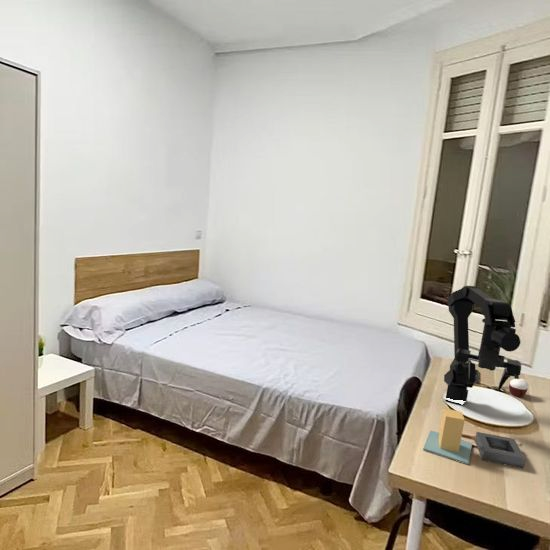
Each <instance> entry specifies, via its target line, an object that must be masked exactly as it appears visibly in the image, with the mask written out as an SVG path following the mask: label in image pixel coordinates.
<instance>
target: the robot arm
mask: <svg viewBox="0 0 550 550" xmlns="http://www.w3.org/2000/svg"><path fill="white" fill-rule="evenodd" d="M446 303H447V306H448V312H449V313H450V315H451V317H452V319H453V340H454V341H453V343H454V344H453V347H454V358H453V360H452V362H451V363H450V365H449V370H448V371H447V372H446V373H445V374H444V377H443V381H444V383H446V385H447V389H446V394H445V397H446V398H450V399H453V400H463V401H466V402H467V400H468V395H469V389H468V388H471V389H472V388H473V386H474V385H475V383H474V382H475V380H476V371H475V369H476V368H477V367H478V368H479V369H485V370H489V371H493V372H494V371H495V370H496V368H502V369H503V372H502V374H501V377H500V380H499V383H498V388H497V391H498V392H499V391H501V389H502V388H503V386H504V384H505V383H506V381H507V380H508V379H510V377H514V376H515V375H519V376H520V375H521V371H522V363H521V362H520V361H519V360H518V361H515V360H513V359H509V358H507V361H505V357H506V356H505V355H500V352H501V349H503V350H504V351H505V352H514V351H516V350H517V349H518V348H519V347H520V345H521V338H520V336H519V335H518V334H517V332H516V330H517V329H516V328H515V327H516V324H515V323H516V319H515V317H514V313H513V309H512V306H511V304H510V303H509V302H507V301H504V300H502V299H495V298H493V297H491V296H490V295H489V294H488V293H486V292H484V291H483V290H481V288H480V287H478V286H474V285H463V287H462V288H460V289H457V290H454V291H453V292H452V293H450V295H449V296H448V297H447V301H446ZM474 306H478V307H479V308H480V309H481V311H480V312H481V314H482V315H483V317H484V318H482V320H481V322H482V323H484V324H483V331H482V336H481V341H480V345H479V350H478V355H477V354H471V350H470V342H469V341H470V340H469V338H470V337H469V318H470V315H471V314H472V312H473V311H474V308H473V307H474ZM472 361H473V362H472ZM474 362H476V363H477V362H478V363H477V367H476V364H475V363H474Z"/></svg>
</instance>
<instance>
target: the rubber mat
mask: <svg viewBox="0 0 550 550" xmlns="http://www.w3.org/2000/svg"><path fill="white" fill-rule="evenodd" d="M438 438H439V432H437V431H434V430H431V429H430V430H429V432H428V436H427V438H426V441H425V443H424V446H423V449H422V451H425V452H427V453H430V454H433V455H436V456H440V457H442V456H443V458H445V457H447V458H446V459H449V458H451V459H450V460H452V459H454V460H453V461H455V460H457V461H456V462H458V461H460V462H459V463H461V462H463V463H462V464H464V463H466V464H465V465H467V464H468V465H469V464H470V463H469V462H470V457H471V452H472V446H473V443H472V442H469V441H467V440H463V439H461V442H460V448H459V452H456V451H451V450H446V449H441V448H440V445H439V440H438Z"/></svg>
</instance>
